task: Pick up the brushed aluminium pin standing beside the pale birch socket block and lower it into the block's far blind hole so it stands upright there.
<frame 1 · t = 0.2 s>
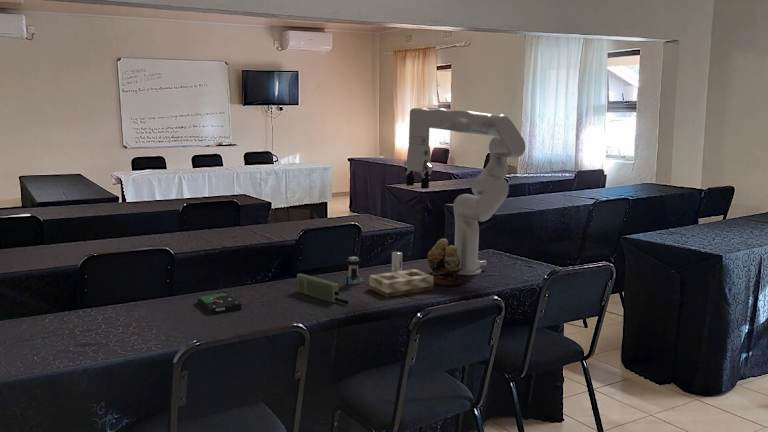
hand: (417, 187, 251), 36 cm above the table, tool pointing down, fingers open, 9 cm apart
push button: (354, 283, 250), on the table
handheld radio: (322, 299, 231), on the table
socket block: (401, 289, 243), on the table
pin: (396, 278, 258), on the table
tan lumpy piece: (443, 282, 254), on the table
disk drive: (219, 308, 220), on the table
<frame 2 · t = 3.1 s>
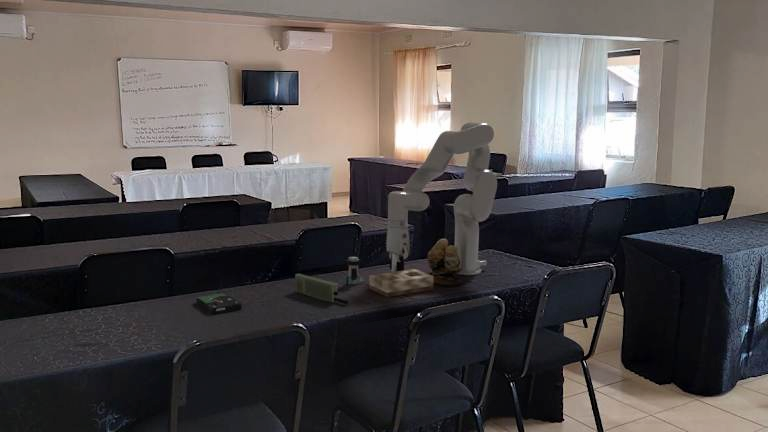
hand: (396, 269, 258), 3 cm above the table, tool pointing down, fingers closed on pin, 4 cm apart
pin: (396, 278, 258), on the table, touching gripper
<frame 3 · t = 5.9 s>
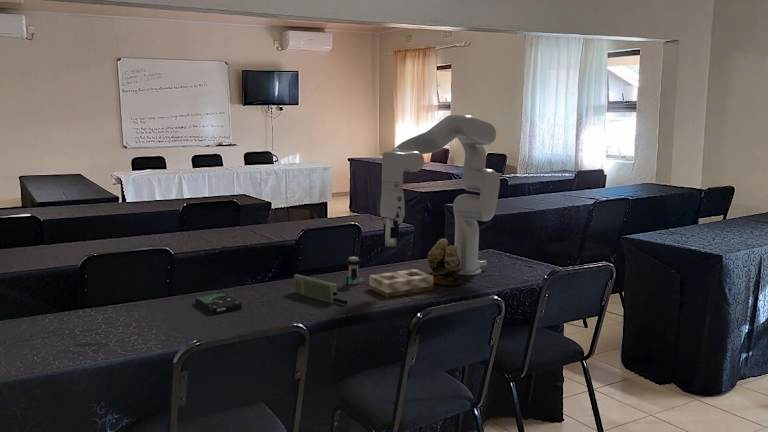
hand: (390, 236, 239), 20 cm above the table, tool pointing down, fingers closed on pin, 4 cm apart
pin: (390, 245, 240), point 16 cm above the table, touching gripper
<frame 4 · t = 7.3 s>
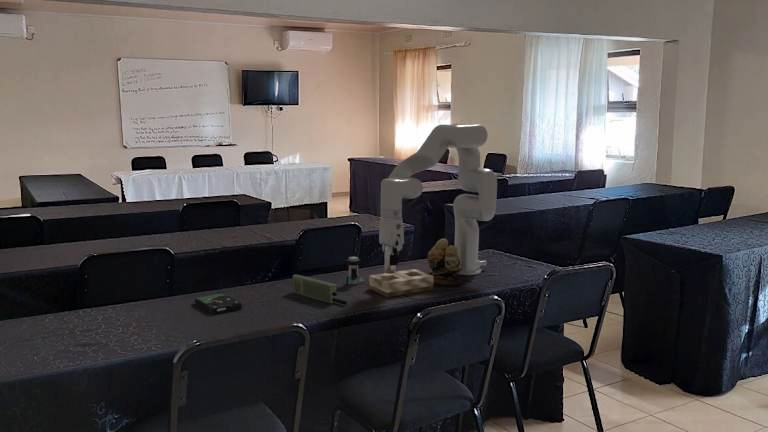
hand: (390, 263, 239), 10 cm above the table, tool pointing down, fingers closed on pin, 4 cm apart
pin: (389, 272, 239), point 7 cm above the table, touching gripper
when the fingers open (6 cm above the table, at t = 8.6 s): pin stays where it is, resting on socket block.
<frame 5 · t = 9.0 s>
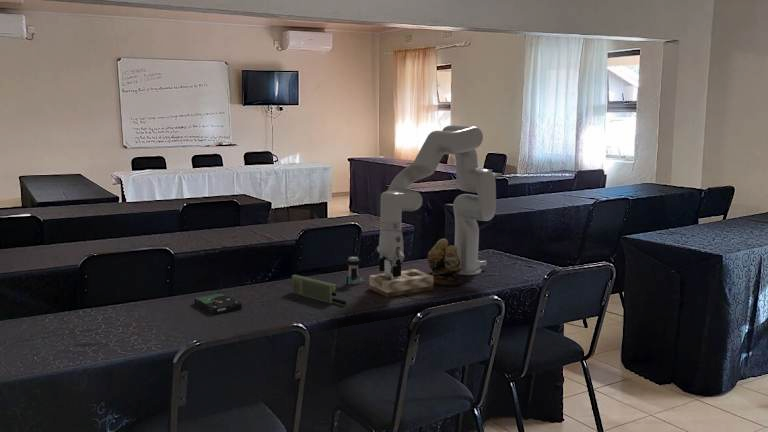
hand: (390, 273, 239), 6 cm above the table, tool pointing down, fingers open, 8 cm apart
pin: (389, 286, 240), point 2 cm above the table, touching socket block
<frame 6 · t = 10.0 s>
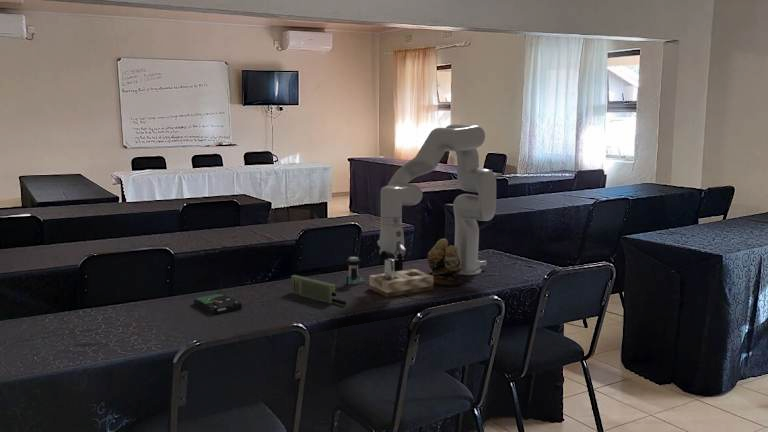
hand: (391, 267, 239), 9 cm above the table, tool pointing down, fingers open, 9 cm apart
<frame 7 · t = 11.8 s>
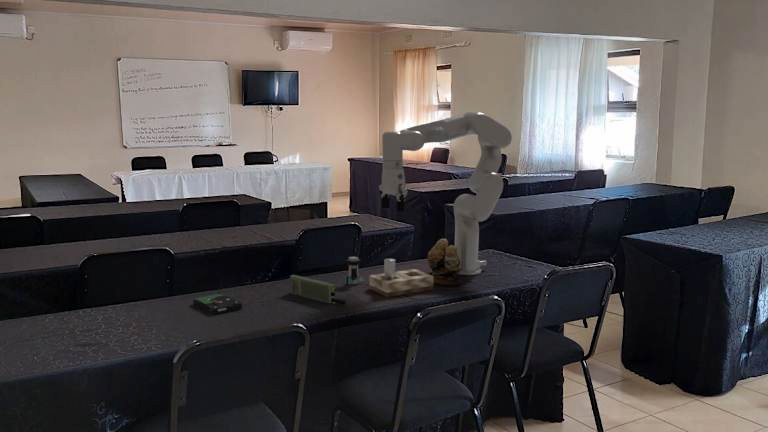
hand: (393, 209, 252), 27 cm above the table, tool pointing down, fingers open, 9 cm apart
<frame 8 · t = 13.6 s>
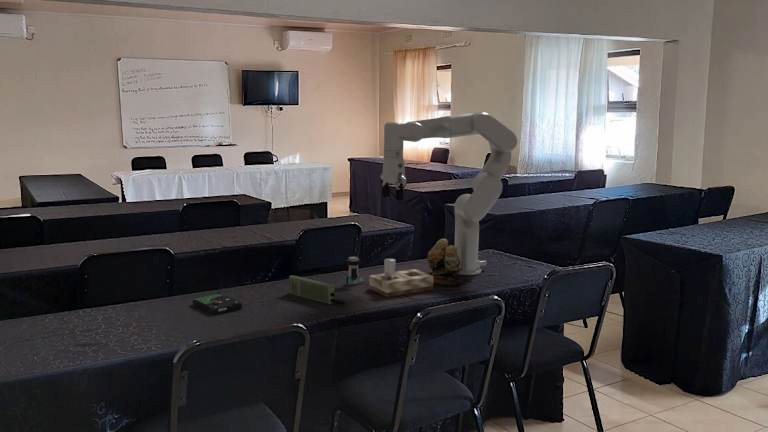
hand: (392, 198, 260), 30 cm above the table, tool pointing down, fingers open, 9 cm apart
at the end: pin 0.0 cm from the target spot on the socket block, point 1.5 cm above the socket block's base; pin tilted 1°; the gripper is holding nothing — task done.
